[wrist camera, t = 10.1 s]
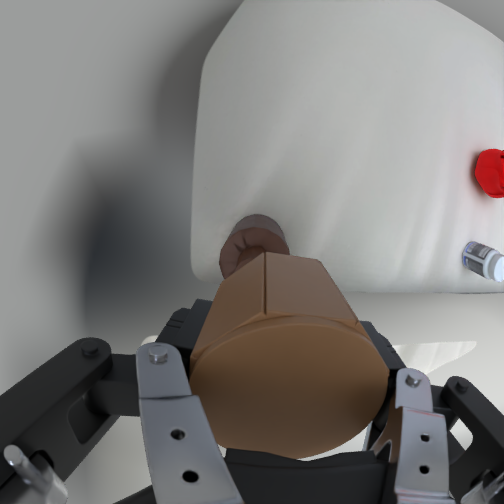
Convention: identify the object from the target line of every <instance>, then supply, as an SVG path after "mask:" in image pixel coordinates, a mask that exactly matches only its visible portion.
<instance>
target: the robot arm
mask: <svg viewBox="0 0 504 504" xmlns="http://www.w3.org/2000/svg"><path fill="white" fill-rule="evenodd" d="M212 303H213V301H208V300H202V299H197V300H196V301H195V303H194V305H193V307H192V308H191V309H187V308H181V309H180V310H178V311H176V312H174V313H173V315H172V316H171V318H170V320H169V321H168V322H167V324H166V326H165V327H164V328H163V330H162V332H161V333H160V335H159V336H158V338H157V339H156V341H155V342H152V343H147V344H144V345H142V346H141V347H139V348H138V350H137V351H136V354H133V355H124V354H112V353H111V348H110V345H109V344H108V343H107V342H106V341H104V340H102V339H99V338H91V337H90V338H82V339H80V340H77V341H75V342H74V343H72V344H71V345H70V346H68V347H67V348H65V349H64V350H62V351H61V352H60V353H58V354H57V355H55V356H54V357H53V358H51V359H50V360H48V361H47V362H46V363H44V364H43V365H41V366H40V367H39V368H37V369H36V370H34V371H33V372H32V373H30V374H29V375H28V376H26V377H25V378H24V379H22V380H21V381H20V382H18V383H17V384H15V385H14V386H13V387H11V388H10V389H9V390H8V391H6V392H5V393H3V394H2V395H1V396H0V504H66V502H67V499H68V492H67V488H66V486H65V484H64V482H65V480H66V479H67V478H68V477H69V476H70V475H71V473H72V472H73V471H74V470H75V469H76V468H77V466H78V465H79V464H80V463H81V462H82V461H83V459H84V458H85V457H86V456H87V455H88V453H89V452H90V451H91V450H92V449H93V448H94V446H95V445H96V444H97V443H98V442H99V441H100V439H101V438H102V437H103V436H104V435H105V433H106V432H107V431H108V430H109V429H110V428H111V426H112V425H113V424H114V423H115V422H116V420H117V419H118V418H119V417H120V416H138V417H139V416H140V418H141V426H142V433H143V439H144V445H145V451H146V457H147V462H148V467H149V472H150V476H151V481H152V485H150V486H148V487H146V488H145V489H142V490H141V491H139V492H137V493H135V494H133V495H131V496H129V497H126V498H124V499H122V500H120V501H118V502H116V503H114V504H504V415H503V414H502V413H501V412H500V411H499V410H498V409H497V408H496V407H495V406H494V405H493V404H492V403H491V402H490V401H489V400H488V399H487V398H486V397H485V396H484V395H483V394H482V393H481V392H480V391H479V390H478V389H477V388H476V387H475V386H474V385H473V384H472V383H471V382H469V381H468V380H466V379H465V378H462V377H459V376H452V377H450V378H449V379H448V380H447V382H446V384H445V385H444V387H441V386H435V385H430V380H429V379H428V377H427V376H426V375H425V374H424V373H422V372H420V371H419V370H416V369H413V368H407V367H406V366H405V364H404V363H403V361H402V360H401V358H400V357H399V355H398V354H397V353H396V351H395V350H394V348H393V347H392V345H391V344H390V342H389V341H388V339H386V338H385V337H384V336H382V335H381V334H380V333H378V332H377V331H376V329H375V328H374V326H373V325H372V323H371V322H369V321H360V323H361V324H362V326H363V328H364V329H365V331H366V332H367V334H368V336H369V337H370V339H371V341H372V342H373V344H374V346H375V347H376V349H377V351H378V352H379V354H380V356H381V357H382V359H383V361H384V362H385V364H386V366H387V367H388V369H389V371H390V373H389V378H388V386H387V393H386V396H385V399H384V402H383V404H382V406H381V408H380V410H379V412H378V413H377V415H376V416H375V418H374V419H373V420H372V421H371V422H370V424H369V425H368V428H367V432H366V436H365V441H364V445H363V449H362V451H358V452H345V453H339V454H335V455H332V456H328V457H324V458H319V459H316V460H311V461H301V460H297V459H292V458H288V457H284V456H280V455H276V454H272V453H268V452H261V451H251V450H242V449H234V448H227V450H226V456H225V457H223V456H222V454H221V452H220V449H219V447H218V444H217V442H216V440H215V437H214V435H213V432H212V430H211V427H210V424H209V422H208V419H207V416H206V414H205V411H204V408H203V406H202V403H201V400H200V398H199V396H198V395H197V394H192V391H191V388H190V385H189V382H188V381H189V376H190V356H191V354H192V351H193V349H194V346H195V344H196V342H197V339H198V337H199V334H200V332H201V329H202V327H203V325H204V322H205V320H206V317H207V315H208V313H209V310H210V308H211V305H212ZM459 418H460V419H461V421H462V422H463V423H464V424H465V425H466V427H468V429H469V430H470V431H471V433H472V435H473V441H472V443H471V445H470V446H469V447H468V448H467V450H466V451H465V450H464V449H463V447H462V446H461V445H460V444H459V442H458V441H457V440H456V438H455V437H454V436H453V435H452V433H451V432H450V430H451V428H452V427H453V426H454V424H455V423H456V422H457V420H458V419H459ZM449 491H450V492H451V494H452V495H453V497H454V498H455V499H453V498H451V497H450V496H449Z"/></svg>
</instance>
